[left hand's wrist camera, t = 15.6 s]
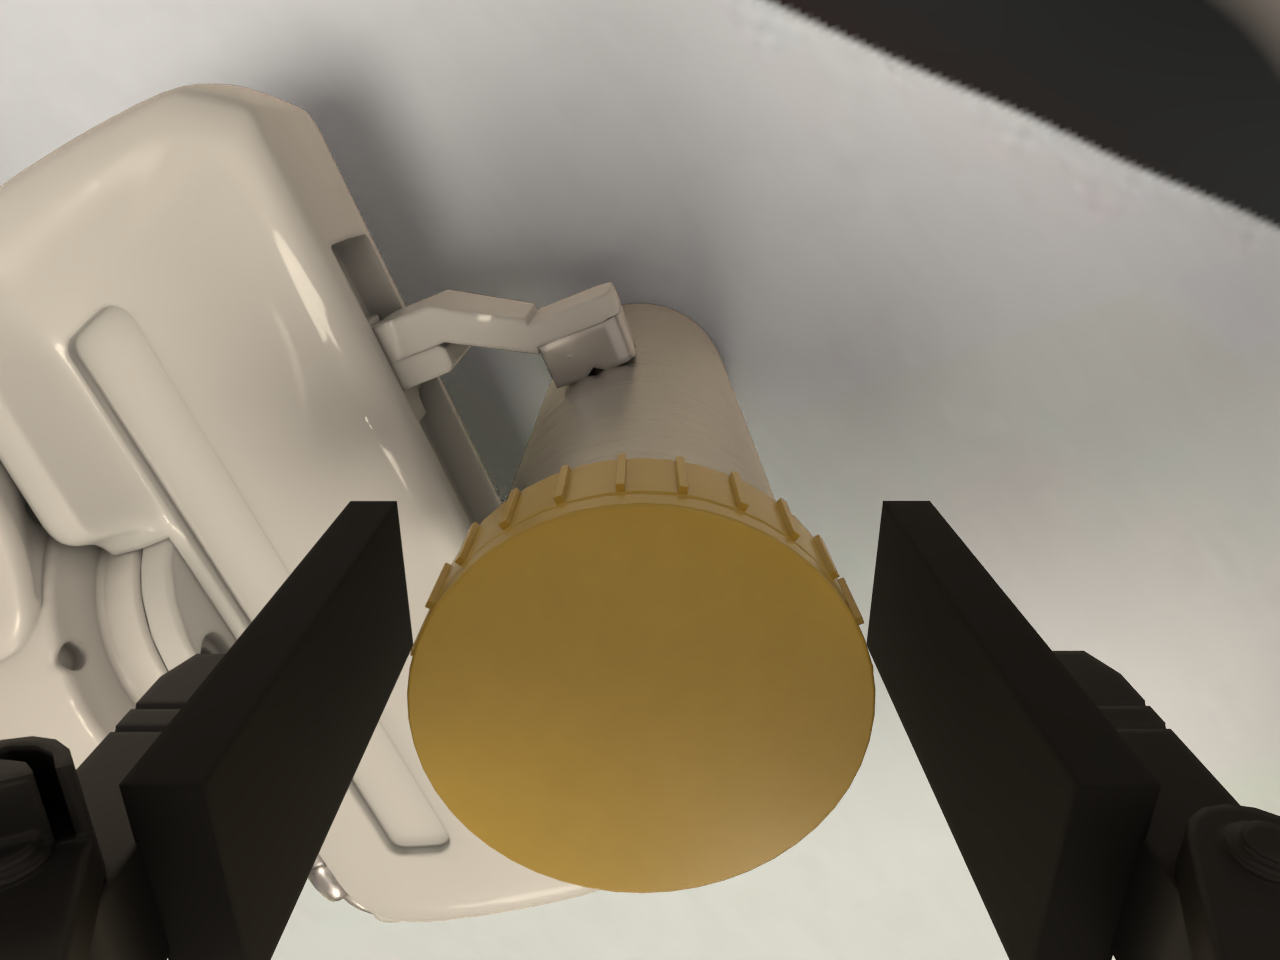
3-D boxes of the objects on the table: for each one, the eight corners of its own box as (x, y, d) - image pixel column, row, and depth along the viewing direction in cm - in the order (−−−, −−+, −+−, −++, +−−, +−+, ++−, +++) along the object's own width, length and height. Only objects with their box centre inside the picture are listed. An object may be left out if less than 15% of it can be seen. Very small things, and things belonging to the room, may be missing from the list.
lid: (509, 848, 13) (492, 935, 12) (363, 515, 11) (322, 571, 10) (884, 767, 13) (915, 848, 11) (805, 399, 11) (831, 439, 9)
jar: (527, 342, 24) (382, 593, 11) (689, 275, 24) (758, 453, 10) (595, 491, 26) (546, 873, 12) (749, 433, 25) (876, 770, 12)
